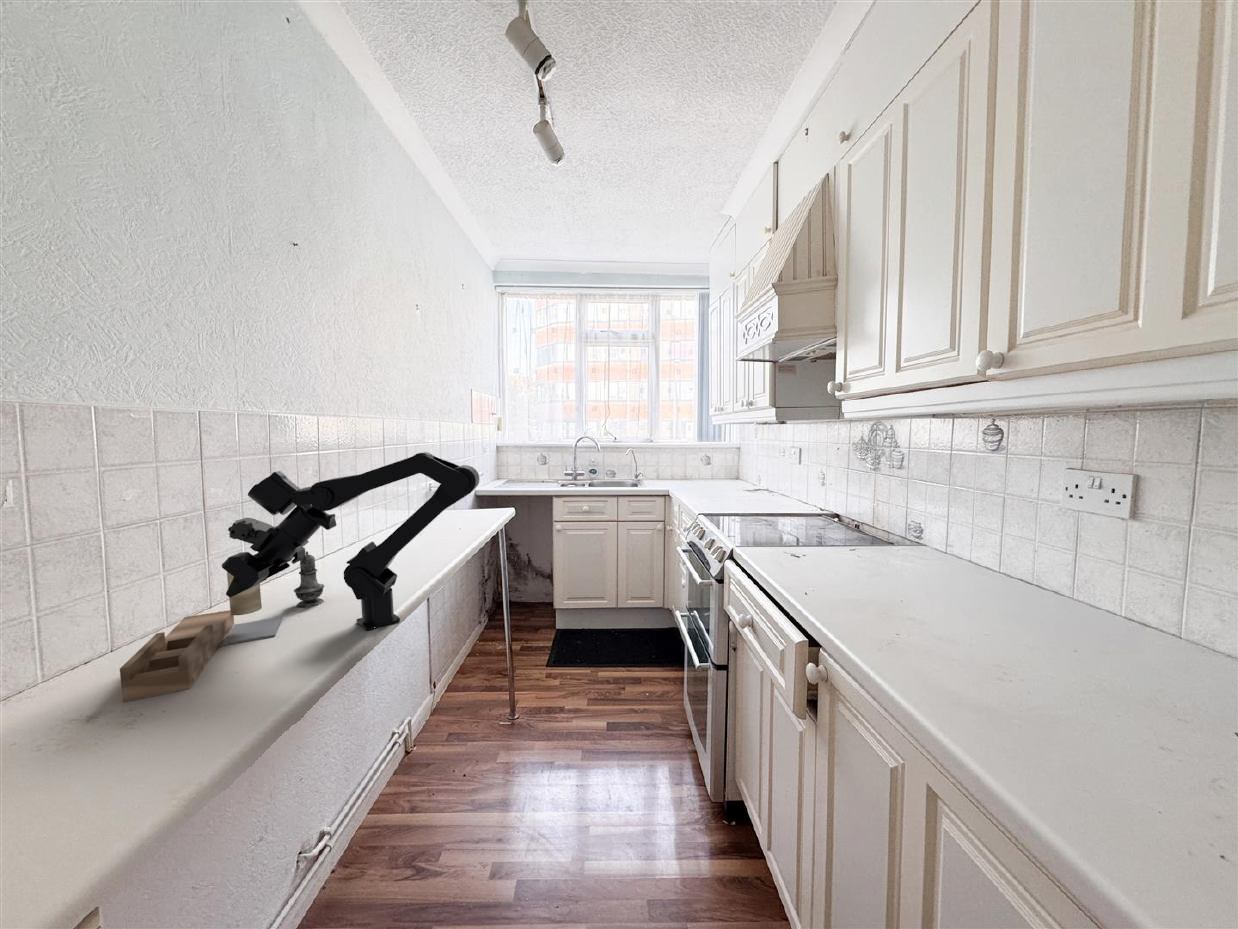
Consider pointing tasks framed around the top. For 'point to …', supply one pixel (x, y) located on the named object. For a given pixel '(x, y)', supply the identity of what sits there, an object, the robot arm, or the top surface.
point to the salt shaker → (308, 584)
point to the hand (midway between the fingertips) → (236, 591)
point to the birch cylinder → (245, 599)
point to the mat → (253, 631)
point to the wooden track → (174, 656)
